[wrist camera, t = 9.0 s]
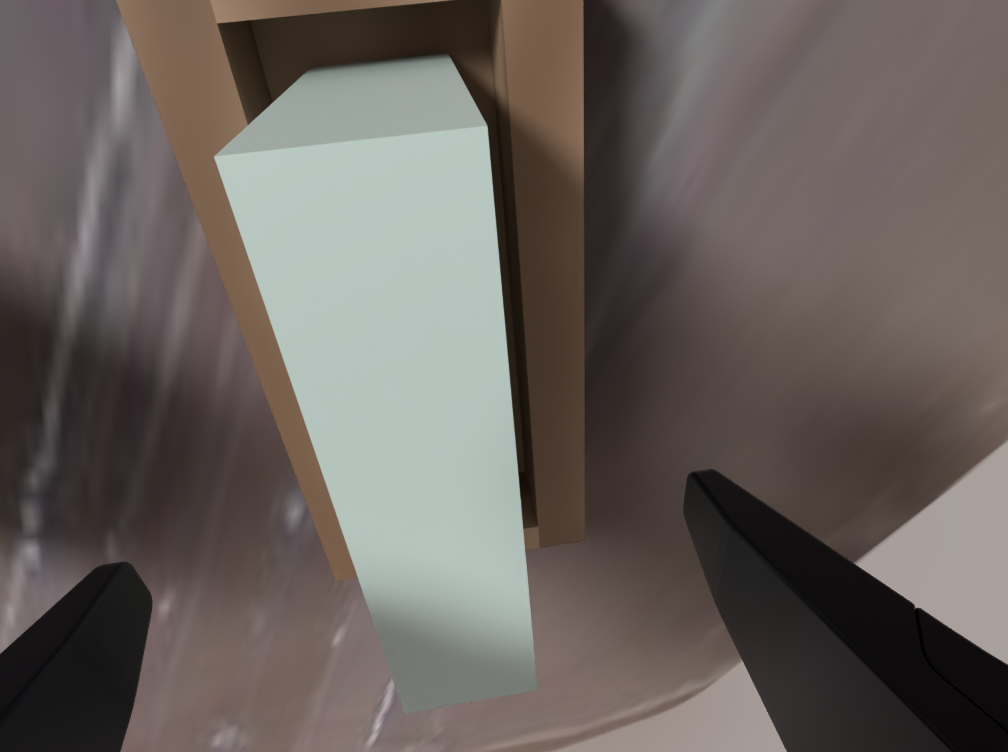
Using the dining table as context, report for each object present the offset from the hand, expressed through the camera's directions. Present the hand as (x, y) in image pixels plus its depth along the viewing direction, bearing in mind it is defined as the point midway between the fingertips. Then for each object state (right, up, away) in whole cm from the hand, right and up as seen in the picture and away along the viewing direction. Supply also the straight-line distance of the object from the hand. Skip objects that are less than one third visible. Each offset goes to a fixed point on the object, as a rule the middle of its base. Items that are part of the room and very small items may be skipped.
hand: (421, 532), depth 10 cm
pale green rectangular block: (-1, +5, +7) cm, 8 cm away
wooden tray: (-1, +5, +8) cm, 9 cm away
